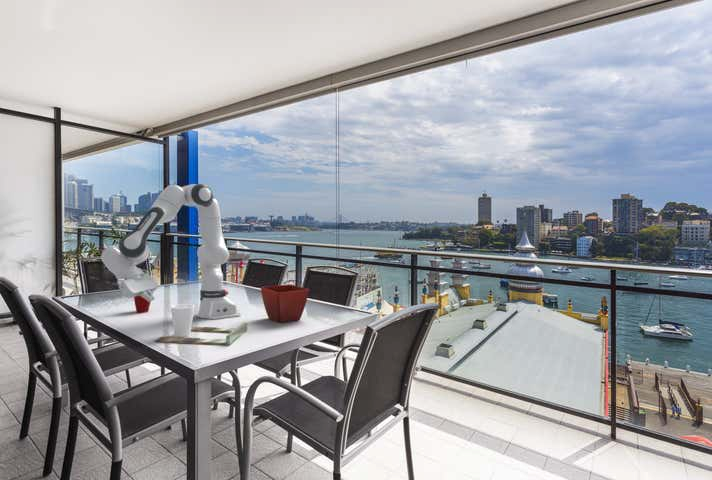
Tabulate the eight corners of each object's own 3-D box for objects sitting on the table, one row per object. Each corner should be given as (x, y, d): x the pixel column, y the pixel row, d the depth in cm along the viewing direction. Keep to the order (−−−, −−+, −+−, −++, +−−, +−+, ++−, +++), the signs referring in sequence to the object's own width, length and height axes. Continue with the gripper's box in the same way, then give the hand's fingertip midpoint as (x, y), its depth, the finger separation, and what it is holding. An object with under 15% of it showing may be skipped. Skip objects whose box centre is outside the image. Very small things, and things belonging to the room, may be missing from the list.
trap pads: (181, 341, 155) (181, 340, 155) (204, 327, 177) (204, 326, 177) (195, 341, 155) (195, 341, 155) (216, 327, 177) (216, 327, 177)
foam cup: (175, 332, 171) (176, 303, 170) (196, 332, 171) (197, 304, 171) (166, 338, 161) (167, 308, 161) (189, 338, 162) (189, 308, 162)
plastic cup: (147, 314, 202) (147, 292, 202) (127, 313, 202) (127, 291, 202) (157, 309, 213) (158, 288, 212) (139, 309, 213) (139, 288, 213)
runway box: (154, 342, 156) (155, 332, 155) (181, 328, 178) (181, 319, 177) (229, 345, 155) (230, 335, 154) (247, 330, 177) (247, 322, 176)
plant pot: (277, 325, 188) (277, 292, 187) (259, 318, 202) (260, 286, 201) (308, 320, 200) (309, 289, 200) (290, 313, 215) (290, 284, 214)
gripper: (120, 275, 156) (142, 299, 156) (149, 270, 176) (169, 291, 176) (109, 285, 156) (131, 309, 156) (139, 279, 177) (159, 300, 176)
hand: (151, 300), depth 166 cm, fingers closed
